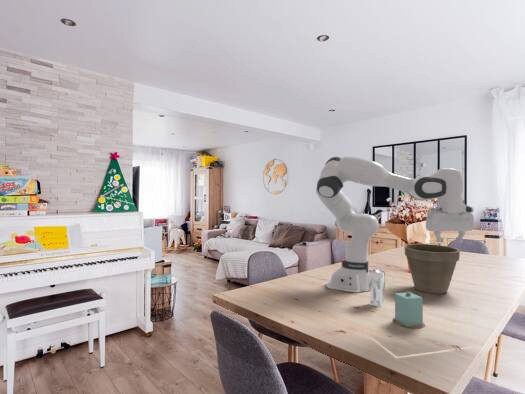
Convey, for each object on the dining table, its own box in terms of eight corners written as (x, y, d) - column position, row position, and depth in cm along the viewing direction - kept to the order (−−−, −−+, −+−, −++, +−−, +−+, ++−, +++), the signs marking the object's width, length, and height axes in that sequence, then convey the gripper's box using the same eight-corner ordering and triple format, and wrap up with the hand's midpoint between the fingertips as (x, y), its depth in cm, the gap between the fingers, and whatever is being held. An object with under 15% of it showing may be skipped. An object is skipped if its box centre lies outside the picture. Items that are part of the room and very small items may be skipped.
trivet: (393, 327, 110) (393, 325, 110) (391, 316, 121) (391, 315, 121) (427, 332, 106) (427, 330, 106) (423, 320, 117) (423, 318, 117)
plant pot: (469, 299, 141) (469, 252, 141) (412, 295, 146) (411, 250, 146) (447, 284, 166) (447, 244, 166) (399, 281, 171) (399, 243, 171)
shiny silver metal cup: (381, 302, 137) (381, 269, 137) (388, 307, 130) (387, 272, 130) (365, 302, 137) (365, 269, 137) (371, 308, 130) (371, 272, 130)
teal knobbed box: (406, 326, 110) (406, 295, 110) (395, 319, 116) (395, 290, 116) (422, 325, 111) (422, 294, 111) (410, 318, 117) (410, 289, 118)
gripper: (434, 208, 118) (433, 243, 118) (477, 208, 123) (476, 242, 123) (422, 207, 124) (421, 241, 124) (463, 208, 129) (463, 240, 129)
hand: (449, 242), depth 123 cm, fingers open, 8 cm apart
